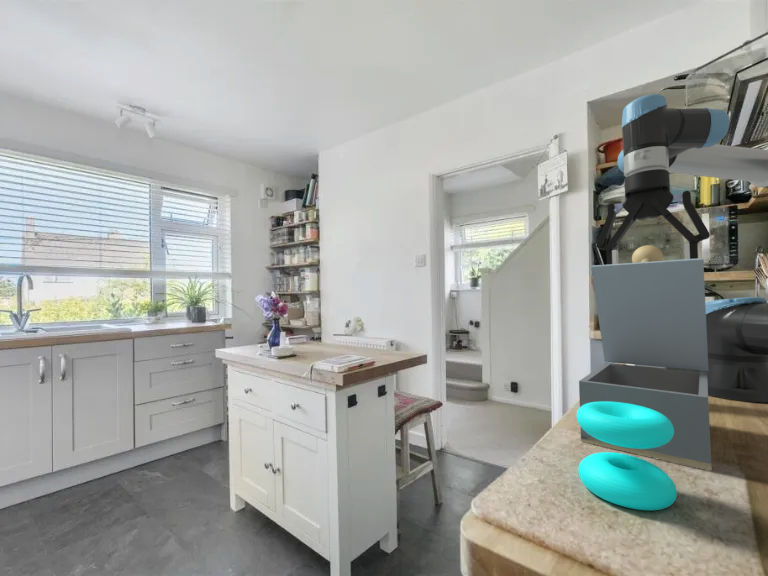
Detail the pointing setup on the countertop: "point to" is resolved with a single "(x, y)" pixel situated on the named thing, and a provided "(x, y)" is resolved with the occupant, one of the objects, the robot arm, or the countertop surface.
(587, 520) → the countertop surface
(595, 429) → the donuts
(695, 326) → the flap
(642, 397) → the carton
